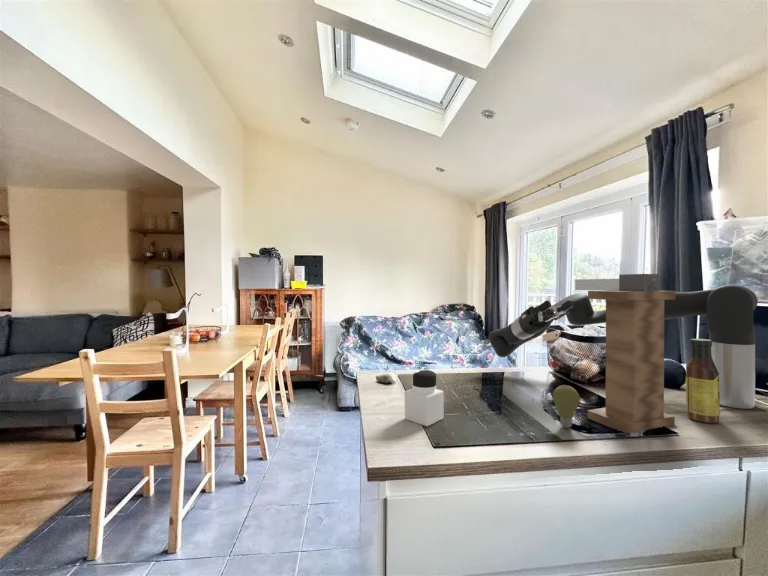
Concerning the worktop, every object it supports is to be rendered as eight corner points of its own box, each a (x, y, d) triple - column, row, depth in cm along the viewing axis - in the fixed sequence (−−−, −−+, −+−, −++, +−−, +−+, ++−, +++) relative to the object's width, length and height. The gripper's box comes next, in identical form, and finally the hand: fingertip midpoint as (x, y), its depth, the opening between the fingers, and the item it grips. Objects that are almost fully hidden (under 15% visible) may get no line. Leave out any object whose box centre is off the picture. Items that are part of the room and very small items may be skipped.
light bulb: (569, 434, 80) (569, 390, 80) (547, 425, 85) (547, 384, 85) (584, 429, 83) (585, 386, 82) (563, 421, 88) (563, 381, 87)
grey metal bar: (585, 289, 102) (585, 275, 102) (659, 291, 83) (659, 274, 83) (572, 290, 101) (572, 275, 101) (643, 291, 82) (644, 273, 82)
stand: (633, 410, 95) (634, 290, 95) (674, 424, 85) (675, 290, 85) (587, 418, 90) (587, 290, 89) (625, 433, 80) (626, 291, 80)
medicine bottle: (444, 418, 90) (444, 371, 90) (427, 427, 85) (427, 376, 84) (421, 411, 95) (421, 366, 94) (404, 419, 89) (403, 371, 89)
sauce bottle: (726, 425, 85) (727, 342, 85) (696, 423, 86) (696, 341, 86) (707, 415, 91) (708, 338, 91) (679, 413, 92) (680, 337, 92)
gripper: (548, 334, 121) (584, 313, 108) (514, 336, 117) (546, 314, 104) (540, 314, 125) (573, 291, 112) (506, 315, 120) (537, 291, 107)
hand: (560, 302), depth 108 cm, fingers open, 8 cm apart
